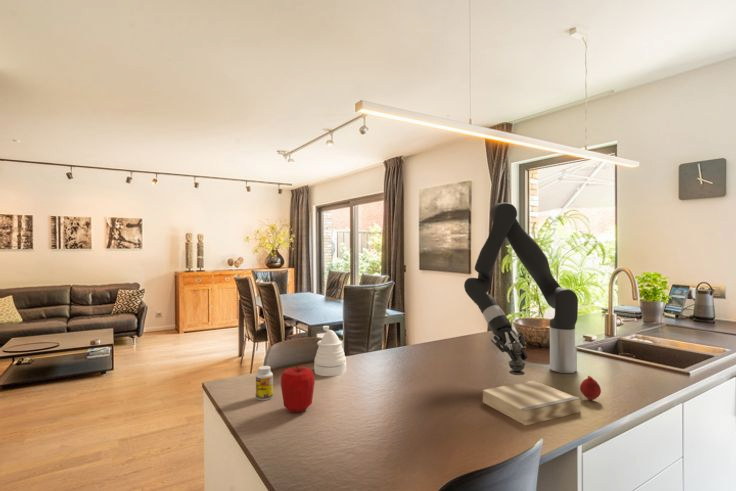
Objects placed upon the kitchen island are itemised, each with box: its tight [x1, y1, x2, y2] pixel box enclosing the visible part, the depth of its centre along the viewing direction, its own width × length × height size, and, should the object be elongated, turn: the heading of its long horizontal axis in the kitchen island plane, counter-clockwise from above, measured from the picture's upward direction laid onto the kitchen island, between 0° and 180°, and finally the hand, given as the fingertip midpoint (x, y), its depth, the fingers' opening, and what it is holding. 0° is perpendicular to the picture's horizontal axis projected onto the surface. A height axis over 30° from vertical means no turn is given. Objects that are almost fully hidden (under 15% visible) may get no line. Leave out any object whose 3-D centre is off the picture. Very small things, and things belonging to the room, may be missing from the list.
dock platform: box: [482, 379, 581, 426], centre depth 124 cm, size 22×18×4 cm
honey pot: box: [313, 325, 347, 377], centre depth 160 cm, size 13×13×18 cm
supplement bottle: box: [255, 365, 274, 401], centre depth 132 cm, size 6×6×10 cm
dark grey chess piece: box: [507, 340, 526, 376], centre depth 142 cm, size 6×6×12 cm
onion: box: [579, 375, 602, 401], centre depth 129 cm, size 6×6×8 cm
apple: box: [280, 366, 315, 413], centre depth 123 cm, size 10×10×14 cm
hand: (520, 359), depth 141 cm, fingers closed on dark grey chess piece, 3 cm apart
